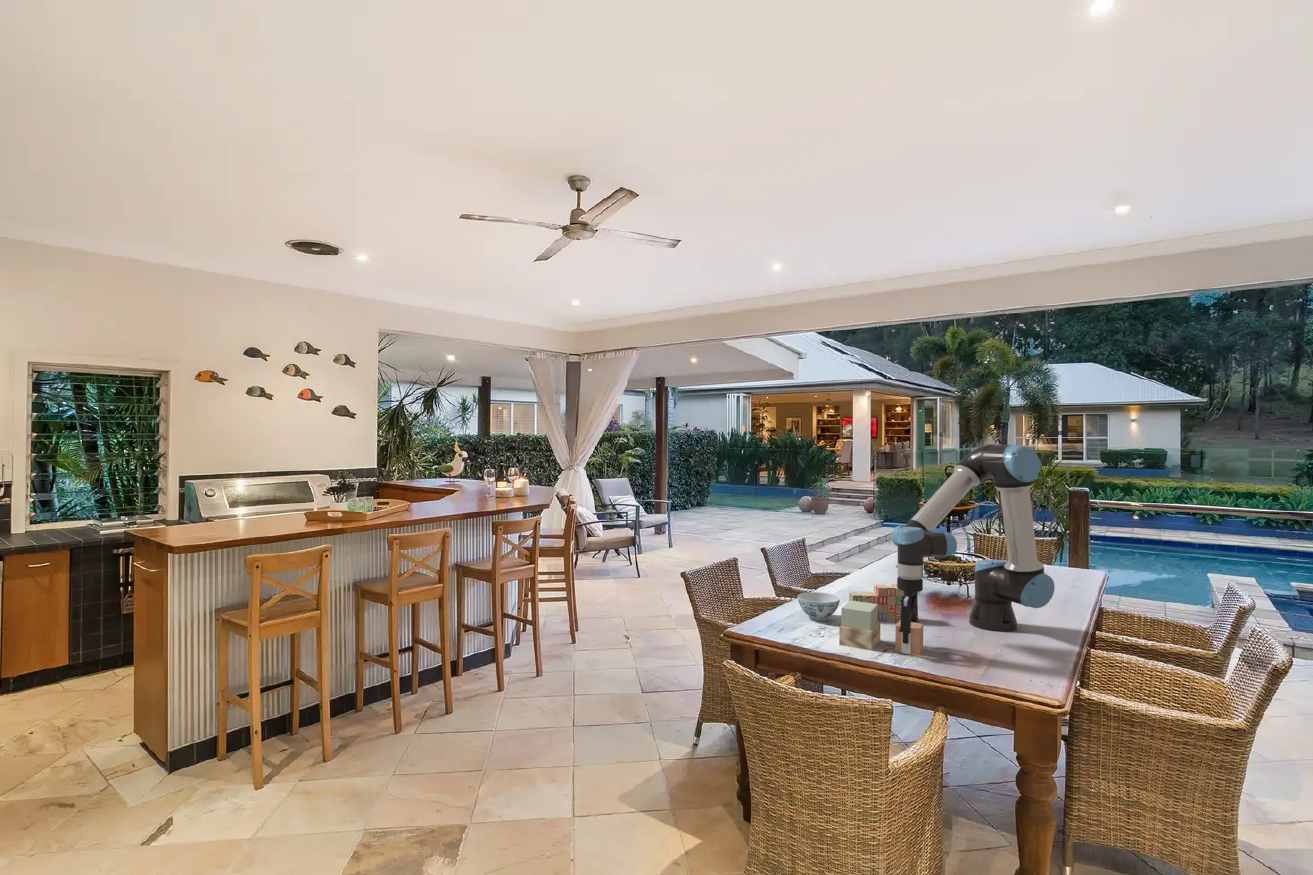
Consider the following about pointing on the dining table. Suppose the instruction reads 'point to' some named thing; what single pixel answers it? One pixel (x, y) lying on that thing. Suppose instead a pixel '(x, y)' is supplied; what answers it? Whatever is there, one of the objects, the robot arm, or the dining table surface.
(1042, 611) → the dining table surface
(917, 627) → the terracotta block
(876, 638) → the tower base block
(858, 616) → the tower top block
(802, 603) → the chinaware
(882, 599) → the stack of blocks
